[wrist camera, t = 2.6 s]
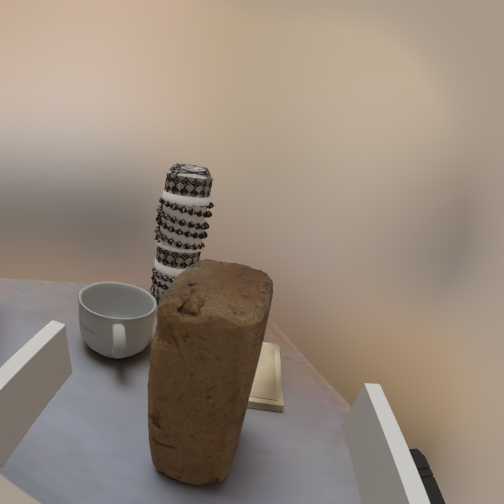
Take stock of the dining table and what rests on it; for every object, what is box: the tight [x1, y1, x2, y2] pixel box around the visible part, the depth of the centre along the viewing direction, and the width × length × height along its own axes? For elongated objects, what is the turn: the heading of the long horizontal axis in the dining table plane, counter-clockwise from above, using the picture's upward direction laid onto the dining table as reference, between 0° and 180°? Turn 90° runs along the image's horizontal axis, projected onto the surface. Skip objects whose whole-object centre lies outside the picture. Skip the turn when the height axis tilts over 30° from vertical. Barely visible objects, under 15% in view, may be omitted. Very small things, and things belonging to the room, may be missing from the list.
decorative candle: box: [150, 164, 214, 312], centre depth 52 cm, size 9×9×25 cm
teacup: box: [78, 281, 157, 358], centre depth 38 cm, size 14×11×8 cm
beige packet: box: [247, 342, 284, 412], centre depth 41 cm, size 14×14×1 cm
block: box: [148, 259, 273, 485], centre depth 24 cm, size 11×8×20 cm
